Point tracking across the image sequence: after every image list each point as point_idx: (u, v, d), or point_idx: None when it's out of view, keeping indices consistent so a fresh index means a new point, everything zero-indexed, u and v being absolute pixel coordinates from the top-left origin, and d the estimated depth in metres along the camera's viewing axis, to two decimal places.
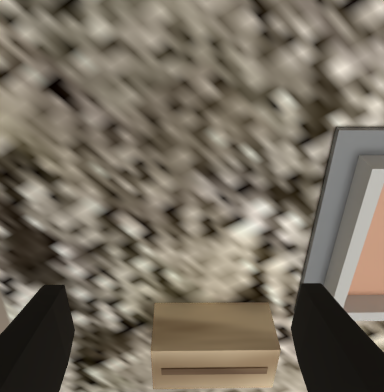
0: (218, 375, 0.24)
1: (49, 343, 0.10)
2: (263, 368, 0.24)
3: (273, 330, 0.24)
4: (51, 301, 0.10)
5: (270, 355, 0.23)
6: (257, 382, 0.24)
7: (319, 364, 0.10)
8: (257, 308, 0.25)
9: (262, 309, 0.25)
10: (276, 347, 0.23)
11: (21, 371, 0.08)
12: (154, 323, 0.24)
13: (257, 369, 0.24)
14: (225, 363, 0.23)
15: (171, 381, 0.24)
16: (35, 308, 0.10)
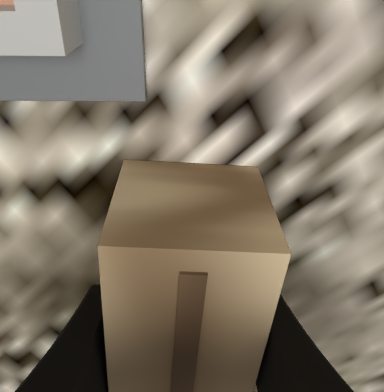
0: (204, 363, 0.09)
1: (104, 342, 0.10)
2: (182, 282, 0.08)
3: None
4: None
5: (123, 267, 0.08)
6: (254, 288, 0.08)
7: (264, 364, 0.10)
8: None
9: None
10: (99, 249, 0.08)
11: (85, 370, 0.08)
12: None
13: (192, 292, 0.08)
14: (158, 351, 0.09)
15: None
16: (90, 308, 0.10)
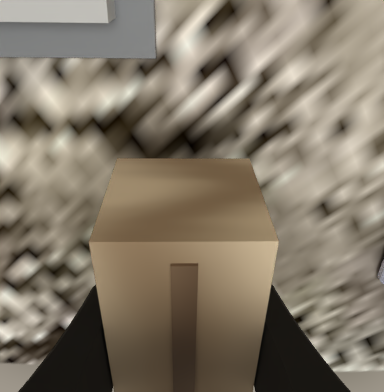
0: (203, 353, 0.10)
1: None
2: (174, 274, 0.08)
3: None
4: None
5: (116, 262, 0.08)
6: (245, 276, 0.08)
7: (262, 364, 0.10)
8: None
9: None
10: (91, 245, 0.08)
11: (88, 370, 0.08)
12: None
13: (184, 282, 0.08)
14: (157, 343, 0.09)
15: None
16: (93, 308, 0.10)
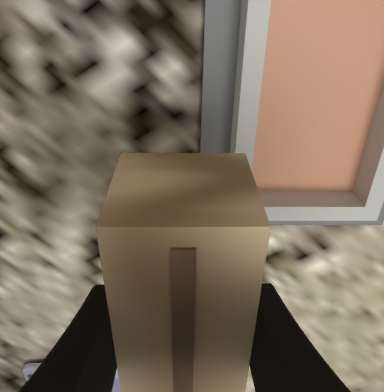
0: (201, 334, 0.10)
1: (106, 342, 0.10)
2: (174, 257, 0.09)
3: None
4: None
5: (120, 246, 0.09)
6: (240, 261, 0.09)
7: (262, 364, 0.10)
8: None
9: None
10: (97, 230, 0.09)
11: (88, 370, 0.08)
12: None
13: (183, 266, 0.09)
14: (158, 324, 0.10)
15: None
16: (93, 307, 0.10)
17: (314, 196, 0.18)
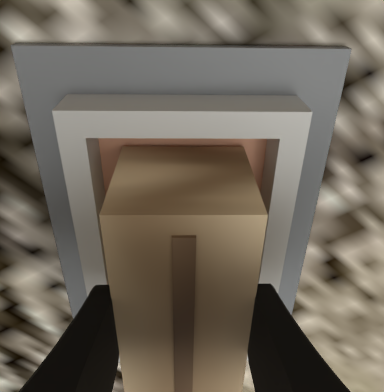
0: (201, 321, 0.11)
1: (107, 342, 0.10)
2: (175, 245, 0.09)
3: None
4: (107, 301, 0.10)
5: (123, 234, 0.09)
6: (238, 248, 0.09)
7: (262, 364, 0.10)
8: None
9: None
10: (101, 219, 0.09)
11: (89, 370, 0.08)
12: None
13: (184, 253, 0.09)
14: (159, 312, 0.10)
15: (220, 382, 0.12)
16: (93, 307, 0.10)
17: None
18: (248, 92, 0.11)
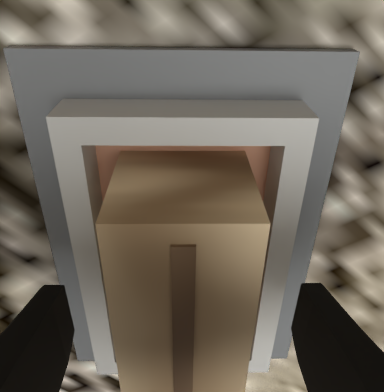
0: (201, 332, 0.10)
1: (49, 343, 0.10)
2: (174, 254, 0.09)
3: None
4: (51, 301, 0.10)
5: (120, 243, 0.09)
6: (240, 257, 0.09)
7: (318, 364, 0.10)
8: None
9: None
10: (97, 227, 0.09)
11: (21, 371, 0.08)
12: None
13: (183, 263, 0.09)
14: (158, 322, 0.10)
15: None
16: (35, 308, 0.10)
17: None
18: (251, 97, 0.11)
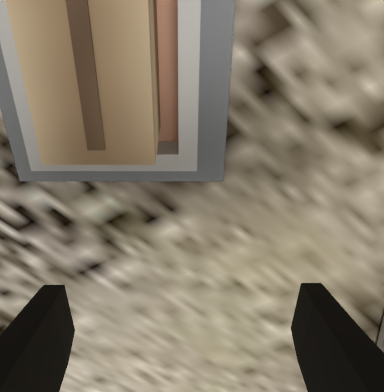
0: (98, 35, 0.11)
1: (49, 343, 0.10)
2: None
3: None
4: (51, 301, 0.10)
5: None
6: None
7: (319, 364, 0.10)
8: None
9: None
10: None
11: (21, 371, 0.08)
12: None
13: None
14: (56, 20, 0.11)
15: (130, 131, 0.12)
16: (35, 308, 0.10)
17: None
18: None
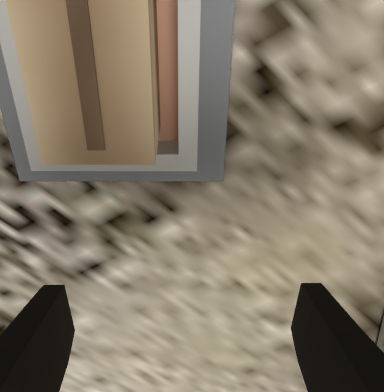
0: (98, 35, 0.11)
1: (49, 343, 0.10)
2: None
3: None
4: (51, 301, 0.10)
5: None
6: None
7: (319, 364, 0.10)
8: None
9: None
10: None
11: (21, 371, 0.08)
12: None
13: None
14: (56, 20, 0.11)
15: (130, 131, 0.12)
16: (35, 308, 0.10)
17: None
18: None
